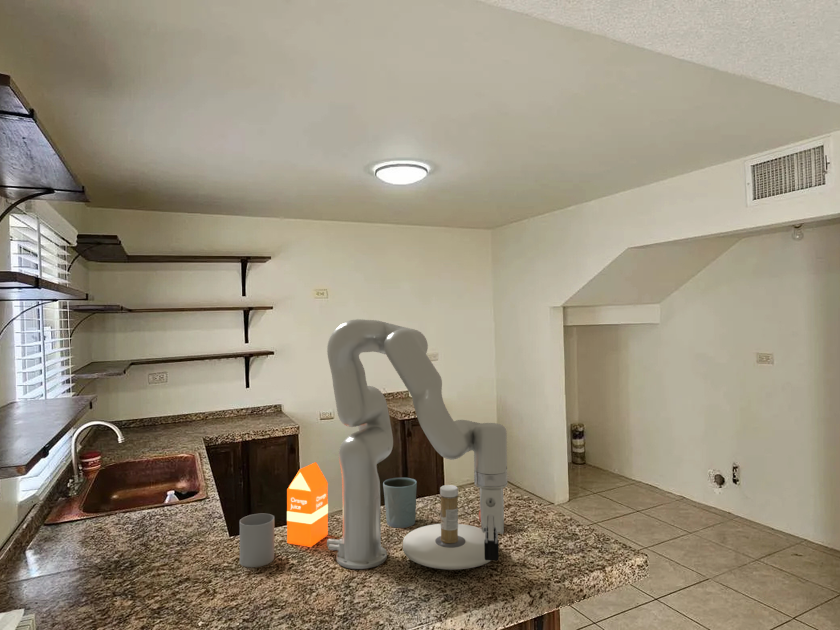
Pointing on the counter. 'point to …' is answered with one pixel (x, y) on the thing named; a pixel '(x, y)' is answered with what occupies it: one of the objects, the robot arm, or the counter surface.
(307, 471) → the orange juice
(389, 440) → the robot arm
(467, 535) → the turntable
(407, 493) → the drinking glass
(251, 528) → the cup
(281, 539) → the counter surface
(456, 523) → the sprinkles bottle
